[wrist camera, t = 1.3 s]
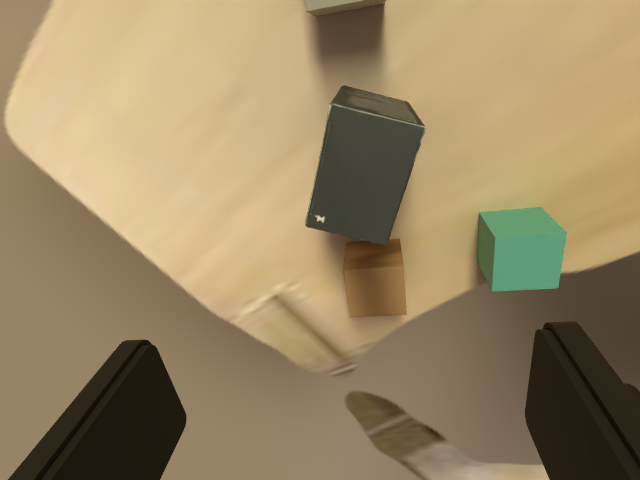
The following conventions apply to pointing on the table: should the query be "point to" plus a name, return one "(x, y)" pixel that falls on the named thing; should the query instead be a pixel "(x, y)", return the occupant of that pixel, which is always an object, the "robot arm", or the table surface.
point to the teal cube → (520, 249)
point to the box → (364, 165)
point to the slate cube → (337, 5)
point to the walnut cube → (375, 279)
